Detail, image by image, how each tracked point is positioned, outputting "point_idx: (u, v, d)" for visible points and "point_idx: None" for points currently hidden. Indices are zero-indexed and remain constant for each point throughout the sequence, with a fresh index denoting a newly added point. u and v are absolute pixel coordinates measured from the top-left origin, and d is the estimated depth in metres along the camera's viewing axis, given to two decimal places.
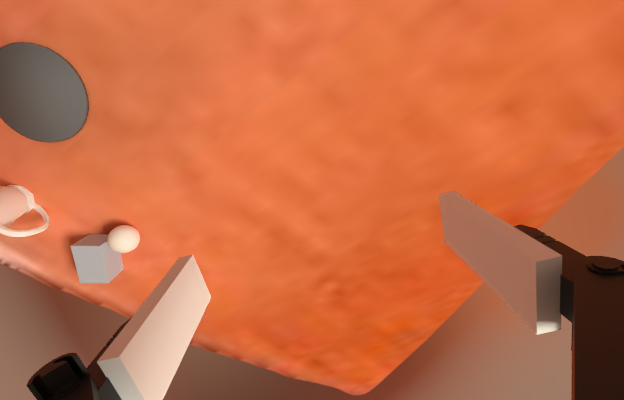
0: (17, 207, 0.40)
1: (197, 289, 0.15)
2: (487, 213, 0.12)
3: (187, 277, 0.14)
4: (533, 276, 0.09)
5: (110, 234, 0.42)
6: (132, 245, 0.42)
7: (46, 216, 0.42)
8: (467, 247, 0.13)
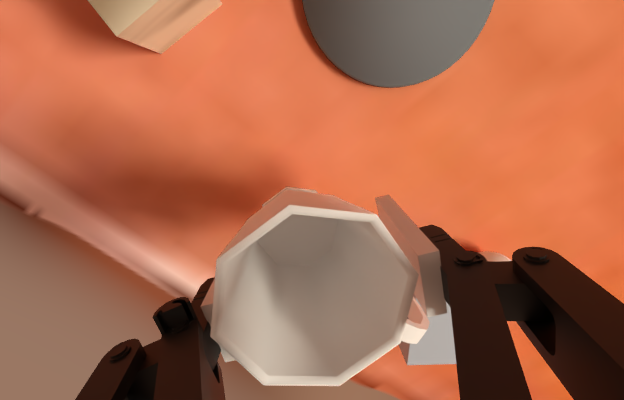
0: None
1: None
2: (403, 215, 0.14)
3: None
4: None
5: None
6: None
7: None
8: None
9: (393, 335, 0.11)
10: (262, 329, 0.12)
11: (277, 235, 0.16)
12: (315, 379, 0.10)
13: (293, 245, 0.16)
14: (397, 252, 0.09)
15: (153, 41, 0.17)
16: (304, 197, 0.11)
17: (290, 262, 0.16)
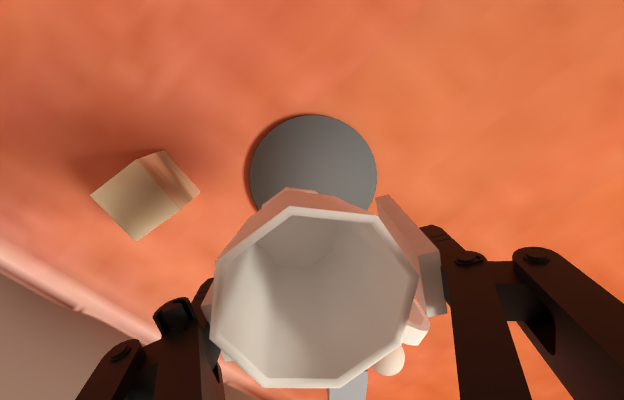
0: None
1: None
2: (404, 215, 0.14)
3: None
4: None
5: None
6: (402, 366, 0.32)
7: None
8: None
9: (394, 337, 0.10)
10: (262, 331, 0.11)
11: (277, 236, 0.16)
12: (316, 382, 0.10)
13: (293, 246, 0.16)
14: (398, 253, 0.09)
15: None
16: (304, 198, 0.11)
17: (290, 263, 0.16)
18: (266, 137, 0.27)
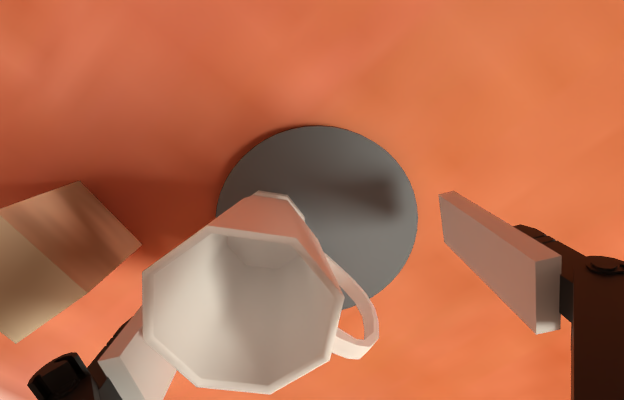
0: None
1: None
2: (487, 213, 0.12)
3: None
4: (532, 276, 0.09)
5: None
6: None
7: (348, 276, 0.17)
8: (467, 247, 0.13)
9: (323, 352, 0.11)
10: (207, 333, 0.12)
11: (245, 238, 0.16)
12: (246, 386, 0.11)
13: (261, 248, 0.17)
14: (320, 275, 0.09)
15: None
16: (247, 210, 0.11)
17: (259, 264, 0.17)
18: (241, 162, 0.16)
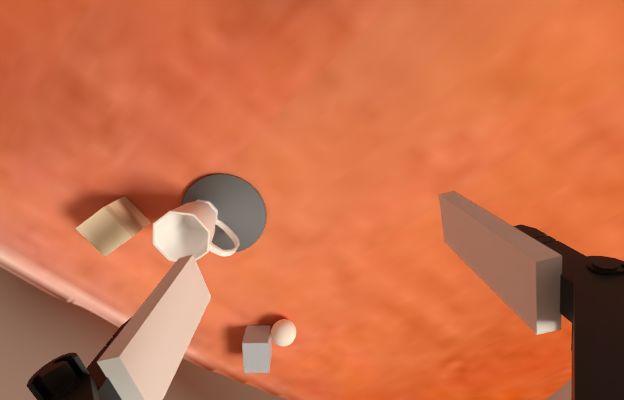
0: None
1: (197, 289, 0.15)
2: (487, 213, 0.12)
3: (187, 277, 0.14)
4: (533, 276, 0.09)
5: (276, 331, 0.46)
6: (293, 340, 0.47)
7: (233, 234, 0.42)
8: (467, 247, 0.13)
9: (206, 249, 0.36)
10: (173, 247, 0.37)
11: (192, 218, 0.41)
12: None
13: (198, 222, 0.41)
14: (201, 224, 0.34)
15: None
16: (185, 207, 0.36)
17: (198, 229, 0.42)
18: (190, 188, 0.41)
